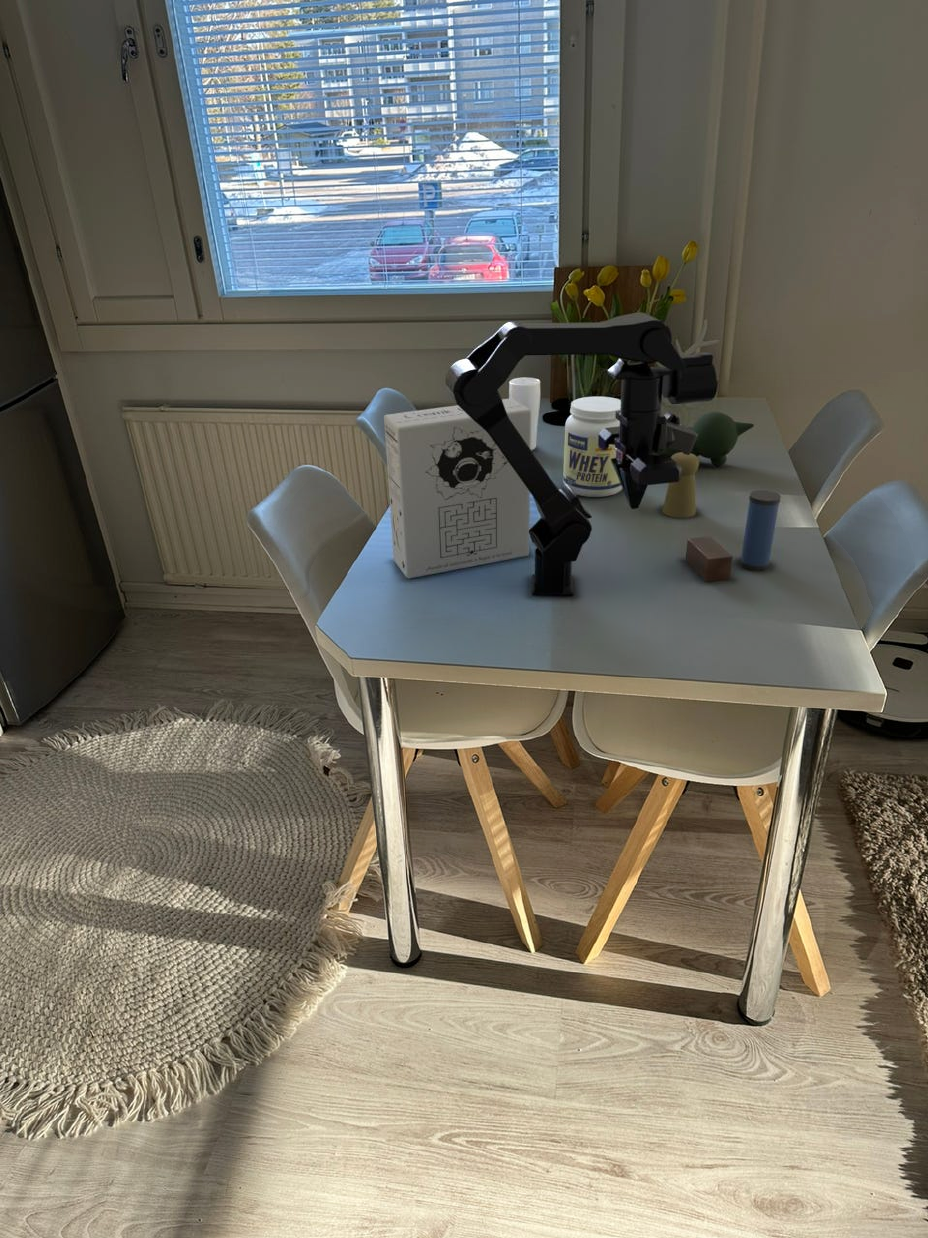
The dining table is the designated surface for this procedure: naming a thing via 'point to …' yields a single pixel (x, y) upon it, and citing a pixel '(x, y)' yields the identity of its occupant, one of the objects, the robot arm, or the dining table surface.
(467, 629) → the dining table surface
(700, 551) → the walnut block
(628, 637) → the dining table surface
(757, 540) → the tube
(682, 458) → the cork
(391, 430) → the cereal box
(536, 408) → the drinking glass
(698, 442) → the toy figurine
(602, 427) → the supplement tub
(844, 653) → the dining table surface
